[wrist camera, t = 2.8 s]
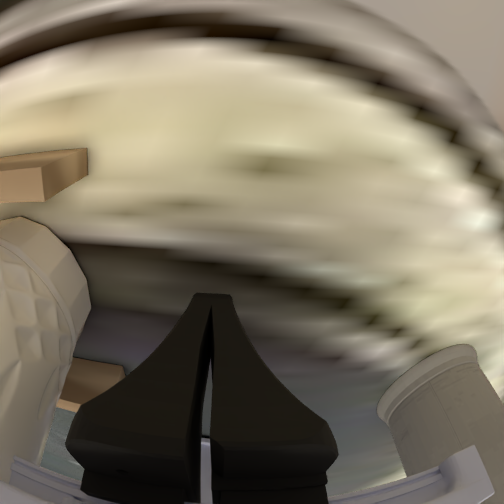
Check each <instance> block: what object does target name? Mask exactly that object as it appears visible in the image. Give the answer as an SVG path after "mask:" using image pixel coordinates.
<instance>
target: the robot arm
mask: <svg viewBox="0 0 504 504" xmlns="http://www.w3.org/2000/svg"><path fill="white" fill-rule="evenodd" d="M210 359H211V367H212V383H213V389H212V407H211V424H210V439H207V438H201V436H202V412H203V403H204V396H205V390H206V384H207V377H208V371H209V365H210ZM65 445H66V448H67V450H68V451H69V453H70V454H71V455H72V456H73V457H74V458H75V460H76V461H77V462H78V463H79V464H80V465H81V466H82V467H83V468H84V469H85V470H84V474H83V478H82V481H79V480H76V479H73V478H70V477H67V476H64V475H61V474H58V473H56V472H53V471H50V470H48V469H45V468H43V467H40V466H38V465H35V464H33V463H31V462H28V461H26V460H24V459H22V458H20V457H17V456H15V455H14V457H13V459H14V461H15V462H14V463H12V464H11V467H10V469H11V470H12V473H11V477H10V481H9V484H8V483H6V482H4V481H2V480H0V504H480V503H481V502H483V501H484V500H486V499H487V498H489V497H490V496H492V495H493V494H494V492H495V491H494V488H493V486H492V483H491V481H490V479H489V476H488V474H487V471H486V469H485V467H484V465H483V462H482V460H481V458H480V456H479V453H478V451H477V449H476V447H475V445H472V446H470V447H467V448H465V449H463V450H461V451H459V452H457V453H455V454H453V455H451V456H449V457H448V458H446V459H445V460H444V461H443V462H441V463H440V465H439V466H436V467H434V468H431V469H429V470H426V471H423V472H421V473H418V474H415V475H412V476H409V477H406V478H403V479H400V480H397V481H394V482H390V483H387V484H383V485H380V486H376V487H372V488H368V489H364V490H360V491H356V492H351V493H346V494H341V495H336V496H330V497H327V492H326V487H325V484H327V482H328V480H327V475H326V471H327V469H328V468H329V467H330V466H331V465H332V464H333V463H334V461H335V460H336V459H337V457H338V455H339V454H338V448H337V444H336V441H335V439H334V436H333V434H332V432H331V430H330V428H329V425H328V423H327V422H326V421H325V420H324V419H322V418H321V417H319V416H318V415H317V414H315V413H314V412H313V411H311V410H310V409H309V408H308V407H306V406H305V405H304V404H303V403H302V402H301V401H299V400H298V399H297V398H296V397H295V396H294V395H293V394H292V393H291V392H290V391H289V390H288V389H287V388H286V387H285V386H284V385H283V384H282V383H281V382H280V381H279V380H278V379H277V378H276V377H275V375H274V374H273V373H272V372H271V371H270V369H269V368H268V367H267V366H266V364H265V363H264V362H263V360H262V359H261V358H260V356H259V355H258V353H257V352H256V350H255V349H254V347H253V345H252V344H251V342H250V340H249V338H248V337H247V335H246V333H245V331H244V329H243V327H242V325H241V323H240V321H239V318H238V316H237V313H236V311H235V308H234V305H233V301H232V297H231V296H230V295H227V294H209V293H196V294H195V295H194V296H193V298H192V300H191V302H190V304H189V306H188V307H187V309H186V311H185V312H184V314H183V315H182V317H181V318H180V320H179V321H178V322H177V324H176V325H175V327H174V328H173V329H172V331H171V332H170V333H169V334H168V336H167V337H166V338H165V339H164V341H163V342H162V343H161V344H160V345H159V346H158V347H157V348H156V350H155V351H154V352H153V353H152V354H151V355H150V356H149V357H148V358H147V359H146V360H145V361H144V362H142V363H141V364H140V365H139V366H138V367H137V368H136V369H135V370H133V371H132V372H131V373H130V374H129V375H127V376H126V377H125V378H123V379H122V380H121V381H119V382H118V383H116V384H115V385H114V386H112V387H111V388H109V389H108V390H106V391H105V392H103V393H102V394H100V395H98V396H96V397H95V398H93V399H91V400H89V401H88V402H86V403H84V404H82V405H80V407H79V409H78V411H77V413H76V415H75V417H74V419H73V421H72V424H71V427H70V430H69V433H68V436H67V439H66V442H65Z"/></svg>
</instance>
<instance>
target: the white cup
mask: <svg viewBox="0 0 504 504" xmlns="http://www.w3.org/2000/svg"><path fill="white" fill-rule="evenodd" d="M90 310H91V303H90V297H89V291H88V285H87V279H86V277H85V276H84V274H83V272H82V270H81V269H80V267H79V265H78V263H77V261H76V259H75V258H74V256H73V254H72V252H71V250H70V249H69V248H68V247H67V246H66V245H65V244H64V243H62V242H61V241H60V240H59V239H58V238H57V237H56V236H55V235H54V234H53V233H52V232H51V231H50V230H49V229H48V228H47V227H46V226H43V225H41V224H38V223H36V222H33V221H31V220H28V219H26V218H23V217H15V218H11V219H6V220H2V221H0V480H2V481H4V482H6V483H8V484H9V481H10V477H11V473H12V470H11V469H10V467H11V464H12V463H14V462H15V461H14V459H13V457H14V455H15V456H17V457H20V458H22V459H24V460H26V461H28V462H31V463H33V464H35V465H38V466H40V464H41V460H42V456H43V452H44V448H45V445H46V441H47V438H48V435H49V431H50V428H51V425H52V422H53V419H54V415H55V409H56V405H57V402H58V400H59V398H60V395H61V392H62V390H63V387H64V383H65V379H66V376H67V373H68V371H69V369H70V366H71V364H72V360H73V352H74V349H75V346H76V344H77V342H78V340H79V337H80V335H81V333H82V331H83V328H84V326H85V323H86V320H87V318H88V315H89V312H90Z"/></svg>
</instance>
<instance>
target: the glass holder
mask: <svg viewBox="0 0 504 504" xmlns="http://www.w3.org/2000/svg"><path fill="white" fill-rule="evenodd" d="M377 414H378V416H379V417H380V419H381V420H383V421H384V422H386V423H387V425H388V427H389V428H390V431H391V434H392V436H393V439H394V442H395V445H396V447H397V450H398V453H399V456H400V458H401V461H402V464H403V467H404V470H405V473H406V476H407V477H409V476H412V475H415V474H418V473H421V472H423V471H426V470H429V469H431V468H434V467H436V466H439V465H440V463H441V462H443V461H444V460H445V459H446V458H448V457H449V456H451V455H453V454H455V453H457V452H459V451H461V450H463V449H465V448H467V447H470V446H472V445H475V447H476V449H477V451H478V453H479V456H480V458H481V460H482V462H483V465H484V467H485V469H486V471H487V474H488V476H489V479H490V481H491V483H492V486H493V488H494V491H495V492H494V494H493V495H492V496H490V497H489V498H487V499H486V500H484V501H483V502H481V503H480V504H504V405H503V403H502V401H501V400H500V398H499V396H498V395H497V393H496V392H495V390H494V388H493V387H492V385H491V384H490V382H489V381H488V379H487V377H486V376H485V374H484V373H483V371H482V370H481V368H480V367H479V364H478V358H477V353H476V350H475V349H474V348H473V347H472V346H470V345H467V344H460V345H454V346H451V347H448V348H445V349H443V350H440V351H438V352H436V353H434V354H432V355H431V356H429V357H427V358H425V359H424V360H422V361H421V362H419V363H417V364H416V365H415V366H413V367H412V368H410V369H409V370H408V371H407V372H405V373H404V374H403V375H402V376H400V377H399V378H398V379H397V380H396V381H395V382H394V383H393V384H392V385H391V386H390V387H389V388H388V389H387V390H386V391H385V393H384V394H383V396H382V397H381V399H380V401H379V403H378V405H377Z"/></svg>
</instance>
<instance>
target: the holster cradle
mask: <svg viewBox="0 0 504 504" xmlns="http://www.w3.org/2000/svg"><path fill="white" fill-rule="evenodd" d="M87 175H88V168H87V148H83V149H70V150H58V151H48V152H39V153H30V154H23V155H15V156H9V157H2V158H0V203H5V202H45V201H46V200H48V199H49V198H51V197H52V196H54V195H55V194H57V193H59V192H60V191H62V190H63V189H65V188H67V187H68V186H70V185H72V184H73V183H75V182H77V181H78V180H80V179H82V178H83V177H85V176H87ZM125 377H126V376H125V373H124V370H123V366H120V365H113V364H107V363H101V362H95V361H90V360H85V359H80V358H75V357H73V360H72V364H71V366H70V369H69V371H68V373H67V376H66V379H65V383H64V387H63V390H62V392H61V395H60V398H59V400H58V402H57V405H56V407H59V408H63V409H66V410H70V411H74V412H77V411H78V409H79V407H80V405H82V404H84V403H86V402H88V401H89V400H91V399H93V398H95V397H96V396H98V395H100V394H102V393H103V392H105V391H106V390H108V389H109V388H111V387H112V386H114V385H115V384H116V383H118V382H119V381H121V380H122V379H123V378H125Z"/></svg>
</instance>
